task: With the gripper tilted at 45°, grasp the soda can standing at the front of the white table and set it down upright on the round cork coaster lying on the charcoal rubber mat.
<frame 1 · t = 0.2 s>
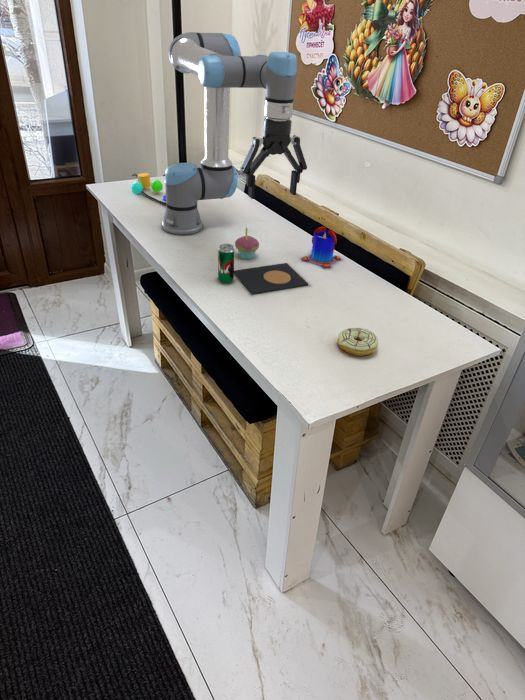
hand: (272, 195, 150), 28 cm above the table, tool pointing down, fingers open, 13 cm apart
shape set: (171, 196, 225), on the table
soda can: (225, 281, 164), on the table
cupcake: (246, 256, 180), on the table
fantasy tower: (321, 259, 181), on the table
decorated donut: (356, 347, 138), on the table
mat: (270, 278, 167), on the table
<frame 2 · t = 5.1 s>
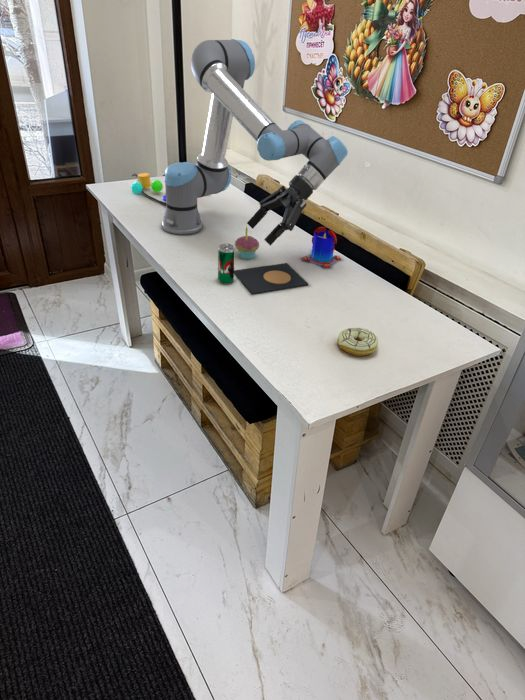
hand: (258, 234, 159), 15 cm above the table, tool tilted 45°, fingers open, 13 cm apart
nothing on the table moved.
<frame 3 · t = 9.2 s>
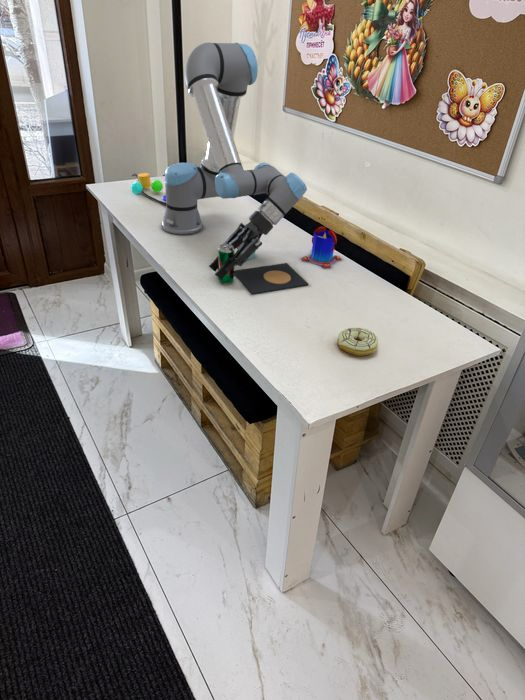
hand: (215, 272, 160), 3 cm above the table, tool tilted 45°, fingers closed on soda can, 5 cm apart
soda can: (225, 281, 164), on the table, touching gripper
everything else where it was.
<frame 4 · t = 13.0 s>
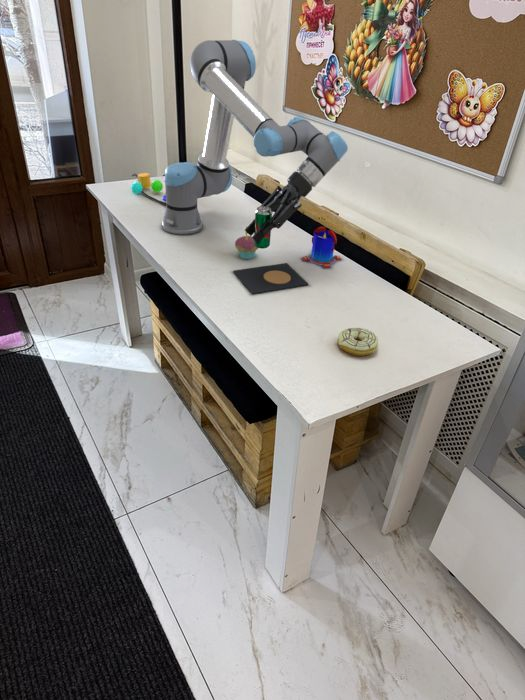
hand: (251, 236, 155), 15 cm above the table, tool tilted 45°, fingers closed on soda can, 5 cm apart
soda can: (261, 246, 159), point 12 cm above the table, touching gripper
everything else where it was.
when the fingers open (4 cm above the table, at t = 17.0 s): soda can stays where it is, resting on mat.
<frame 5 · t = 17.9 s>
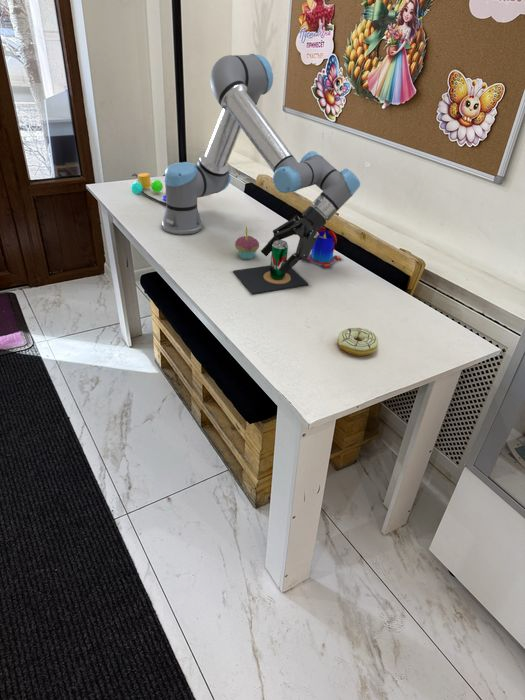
hand: (271, 262, 162), 6 cm above the table, tool tilted 45°, fingers open, 13 cm apart
soda can: (277, 277, 166), point 1 cm above the table, touching mat
everything else where it was.
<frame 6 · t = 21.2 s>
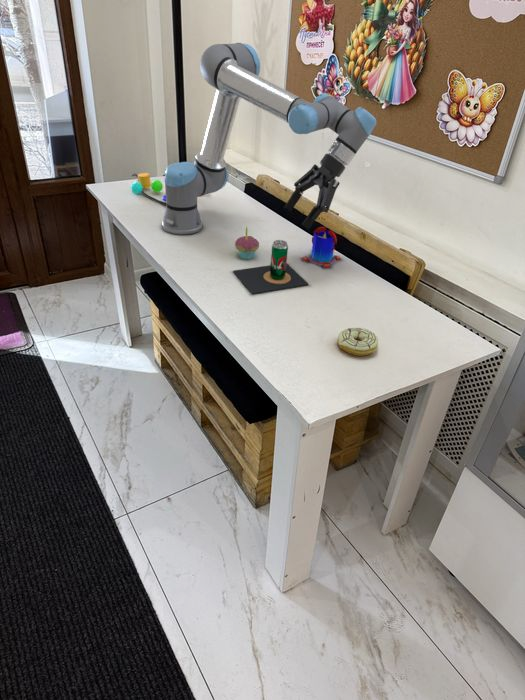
hand: (295, 217, 162), 19 cm above the table, tool tilted 35°, fingers open, 13 cm apart
nothing on the table moved.
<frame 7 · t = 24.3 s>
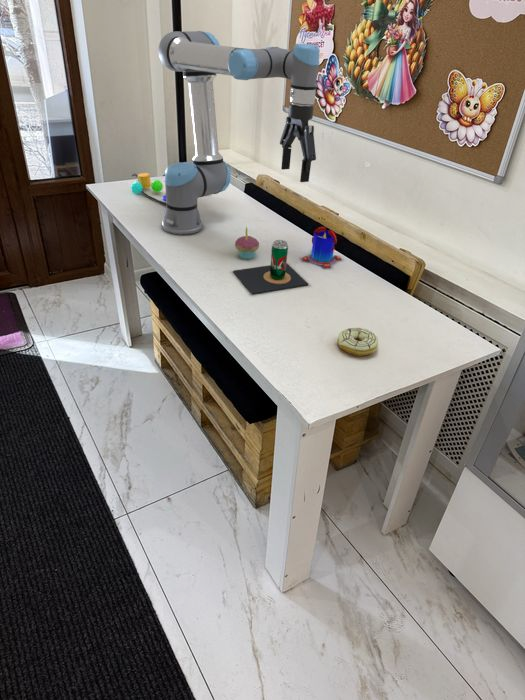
hand: (294, 175, 165), 29 cm above the table, tool pointing down, fingers open, 13 cm apart
nothing on the table moved.
at the end: soda can inside the target area on the mat (0.1 cm from its centre), point 0.7 cm above the mat's base; soda can tilted 0°; the gripper is holding nothing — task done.
